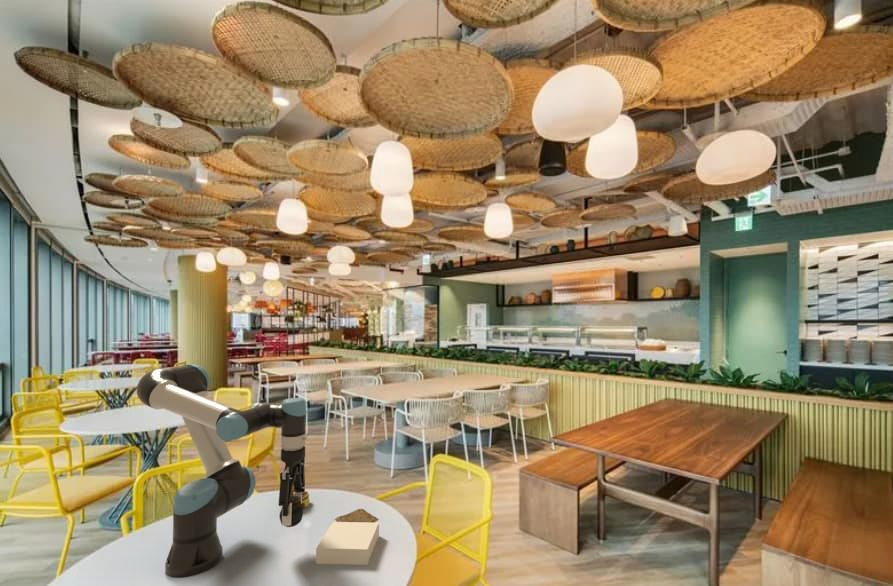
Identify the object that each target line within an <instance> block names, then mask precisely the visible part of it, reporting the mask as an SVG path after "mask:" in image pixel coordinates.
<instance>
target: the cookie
mask: <svg viewBox="0 0 893 586" xmlns="http://www.w3.org/2000/svg"><path fill="white" fill-rule="evenodd" d="M334 521H335V522H373V523H376V522H377V521H379V518H378V517H376V516H375V515H373V514H372V513H370V512H369V511H366V510H365V509H364V508H358V509H355V510H353V511H351V512H348V513H346V514H344V515H340V516H338V517H336V518H334Z"/></svg>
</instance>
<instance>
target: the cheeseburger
mask: <svg viewBox="0 0 893 586" xmlns="http://www.w3.org/2000/svg"><path fill="white" fill-rule="evenodd" d="M294 492H295V491H294V485H293V489H292V495H291V496H293V493H294ZM309 505H310V493H309V492H308V491H307V490H305V491H304V492H302V507H303V509H305V508H308V506H309Z"/></svg>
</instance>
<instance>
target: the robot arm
mask: <svg viewBox="0 0 893 586" xmlns="http://www.w3.org/2000/svg"><path fill="white" fill-rule="evenodd" d="M210 381H211V378H210V375H209V373H208V371H207V369H205V367H203V366H201V365H197V364H181V365H176V366H170V367H163V368H156V369H153V370H150V371H148V372H147V373H145V374H144V375H143V376H142V377H141V378H140V379H139V380H138V383H137V386H136V394H137V398H138V399H139V401H140V402H141V403H142V404H143V405H145V406H147V407H148V408H152V409H154V410H162V409H163V410H166V411H169V412H171V413H174V414H176V415H178V416H181V418H182V420H183V422H184V424H185V426H186V429H187V431H188V433H189V436H190V438H191V441H192V442H193V445H194V448H195V450H196V452H197V454H198V456H199V458H200V461H201V463H202V466H203V468H204V471H205V475H204V478H199V479H198V480H193V481H190V482H189V483H186V484H185V485H183V486H181V487H180V488H179V489H178V490H177V491H176V493H175V494H174V496H173V497H174V499H173V505H172V512H173V514H172V515H173V516H172V520H173V521H172V544H171V546H170V549H169V552H168V554H167V555H168V556H167V557H166V560H165V567H164V568H165V569H164V570H165V571H164V572H165V574H166V575H167V576H168V577H170V578H174V579H183V578H189V577H194V576H197V575H200V574H202V573H204V572H206V571H209V570H210V569H212V568H214V567H215V566H217V564H218V563H220V561H221V560H222V558H223V545H222V543H221V540H220V538H219V534H218V531H217V528H218V527H217V524H218V518H219V517H221V516H223V515H225V514H226V513H228V512H230V511H232V510H234V509H235V508H237V507H239V506H241V505H242V504H244V503H245V502H246V501H248V500H249V499H250V498H251V497H252V496H253V494H254V492H255V488H256V481H257V480H256V476H255V474H254V471H253V470H252V468H250V467H248V466H246V465H242V464H241V461H240V460H238V459H235V458H233V456H232V454H231V452H230V450H229V447H228V446H227V443H226V442H232V441H237V440H240V439H242V438H243V437H246V436H249V435H251V434H254V433H257V432H259V431H262V430H264V429H267V428H276V429H281V431H280V433H281V435H280V436H281V437H280V448H281V450H280V461H281V462H283V463H284V465H285V466H284V471H283V472H280V474H279V480H280V481H279V494H278V507H281V509H282V524H281V526H284V527H286V526H290V525H291V512H292V504H290V501H291V495H292V489H293V485H294V491H295V492H294V493H293V496H294V495H295V496H299V497H301V504H302V492H304V491H306V488H305V487H306V477H305V475H306V474H305V462H306V461H305V459H306V458H305V457H306V446H305V445H306V441H307V438H308V437H307V436H306V433H307V432H306V431H307V430H306V426H307V425H306V424H307V421H306V420H307V413H308V412H307V405H306V404H307V402H306V400H305V399H304V398H301V397H290V398H286V399H283V401H282V402H281V403H271V402H270V403H269V402H265V401H264V402H255V403H254V404H252V406H251V407H250V408H248V409H245V410H239V409H236V408H234V407H231V406H228V405H226V404H224V403H222V402H218V401H216V400H213V399H210V398H207V397H208V395H209V391H208V389H209V387H210Z"/></svg>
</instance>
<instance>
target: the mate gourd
mask: <svg viewBox="0 0 893 586" xmlns="http://www.w3.org/2000/svg"><path fill="white" fill-rule="evenodd" d="M290 504H292V512H291V525H290V526H285V528H293V527H296V526H297V525H299V524H300V523H301V521H302V519H303V517H304V507H302V504H301V497H299V496H295V495H294V496H291V501H290ZM279 520H280V524H281V525H282V508H281V509H280V511H279Z"/></svg>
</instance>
